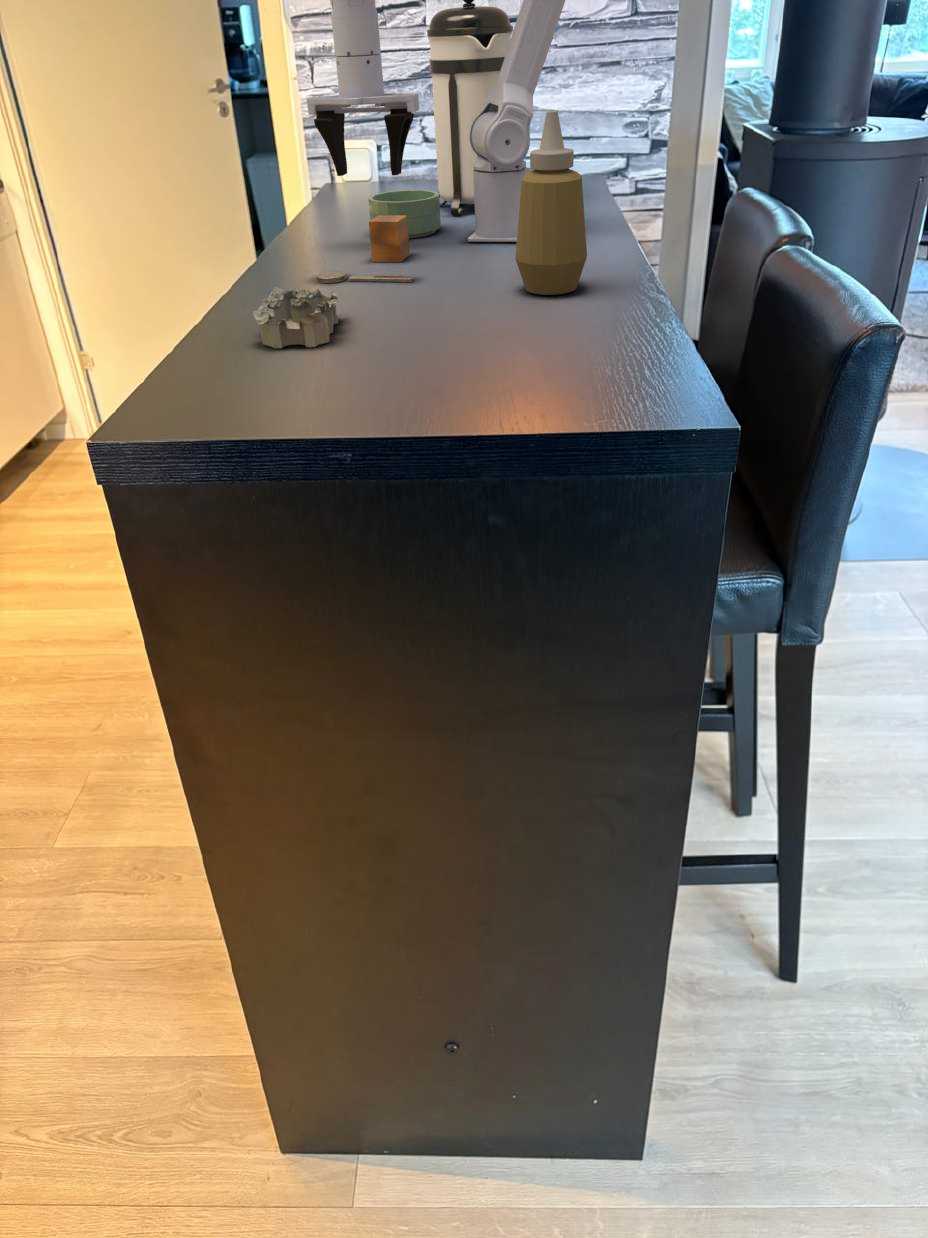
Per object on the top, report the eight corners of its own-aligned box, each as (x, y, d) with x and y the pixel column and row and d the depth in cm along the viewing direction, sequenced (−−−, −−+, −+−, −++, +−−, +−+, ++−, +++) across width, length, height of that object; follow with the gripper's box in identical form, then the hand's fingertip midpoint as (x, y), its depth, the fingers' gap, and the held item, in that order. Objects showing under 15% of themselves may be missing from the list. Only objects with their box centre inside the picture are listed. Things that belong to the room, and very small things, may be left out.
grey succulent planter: (327, 349, 92) (321, 306, 90) (252, 350, 93) (245, 308, 90) (346, 317, 101) (341, 278, 98) (278, 319, 101) (272, 280, 99)
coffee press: (541, 200, 154) (541, -19, 137) (491, 218, 143) (485, -18, 126) (454, 195, 162) (444, -13, 146) (400, 212, 151) (383, -11, 135)
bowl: (448, 225, 141) (446, 189, 138) (430, 239, 132) (427, 201, 130) (384, 225, 143) (381, 189, 140) (362, 239, 135) (358, 202, 132)
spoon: (417, 277, 114) (416, 272, 114) (408, 284, 112) (408, 279, 111) (323, 275, 117) (323, 270, 117) (312, 282, 114) (312, 277, 114)
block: (410, 255, 125) (407, 215, 122) (401, 262, 122) (397, 221, 119) (381, 254, 126) (378, 215, 123) (372, 261, 122) (368, 221, 120)
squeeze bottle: (593, 282, 108) (598, 106, 99) (577, 300, 102) (581, 115, 92) (526, 279, 111) (525, 108, 101) (507, 297, 105) (503, 116, 95)
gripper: (291, 59, 115) (307, 179, 122) (403, 54, 111) (412, 178, 119) (313, 56, 120) (326, 171, 128) (420, 51, 117) (427, 170, 125)
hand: (369, 174), depth 124 cm, fingers open, 7 cm apart
